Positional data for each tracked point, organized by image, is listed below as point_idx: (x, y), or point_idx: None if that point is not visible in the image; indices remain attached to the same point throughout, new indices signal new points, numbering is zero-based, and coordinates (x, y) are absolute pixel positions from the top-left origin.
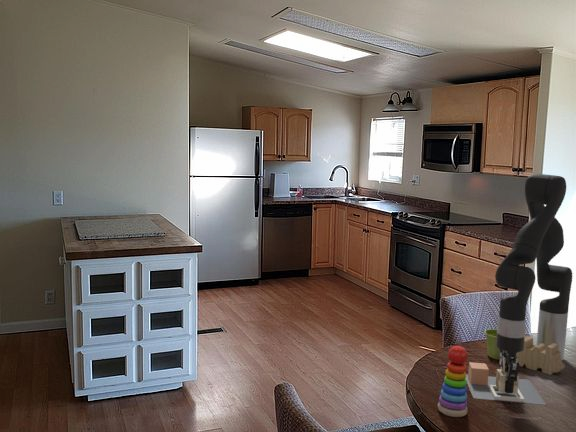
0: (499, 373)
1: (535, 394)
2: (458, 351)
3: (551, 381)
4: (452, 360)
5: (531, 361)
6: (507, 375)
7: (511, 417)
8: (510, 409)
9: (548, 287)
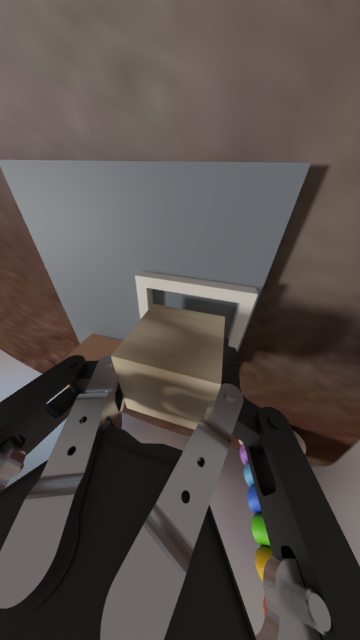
0: (177, 423)
1: (165, 190)
2: None
3: None
4: None
5: None
6: (250, 460)
7: (341, 360)
8: (279, 338)
9: None
